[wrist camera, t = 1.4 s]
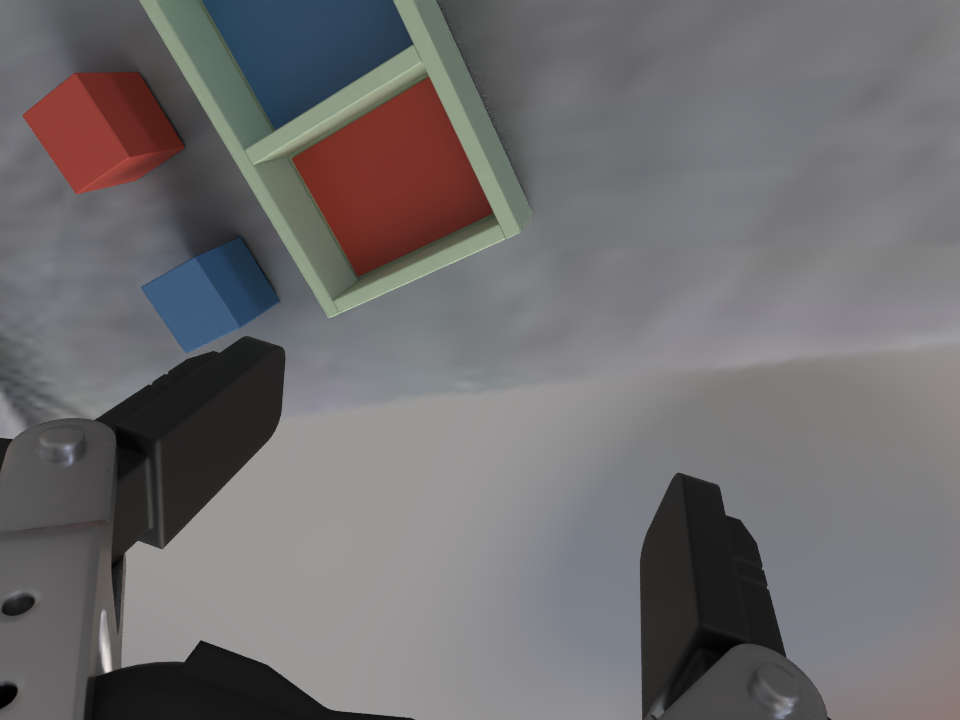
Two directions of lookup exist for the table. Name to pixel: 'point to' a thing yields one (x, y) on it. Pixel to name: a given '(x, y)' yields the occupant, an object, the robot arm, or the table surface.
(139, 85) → the red block
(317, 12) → the sorting tray
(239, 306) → the blue block
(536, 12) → the table surface
